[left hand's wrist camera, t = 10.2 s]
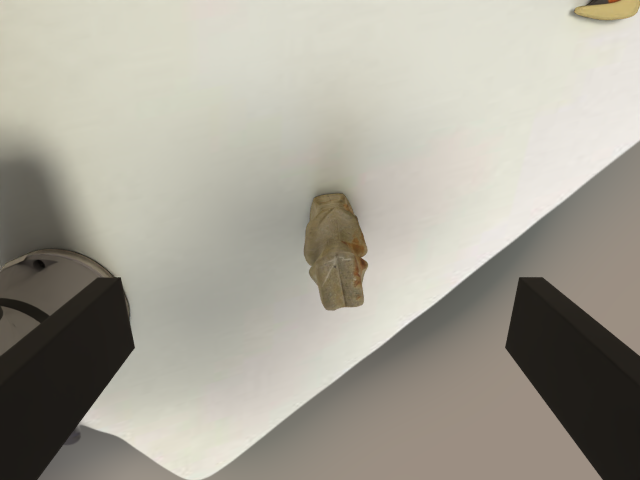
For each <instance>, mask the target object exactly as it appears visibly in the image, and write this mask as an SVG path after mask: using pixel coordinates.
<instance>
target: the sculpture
mask: <svg viewBox="0 0 640 480" xmlns="http://www.w3.org/2000/svg"><path fill="white" fill-rule="evenodd" d="M367 251H368V250H367V246H366V243H365V240H364V236H363V233H362V231H361V228H360V226H359V223H358V219H357V217H356V216H355V215H354V213H353V210H352V208H351V206H350V203H349V201H348V200H347V198H346V196H345V195H344V194H341V193H337V194H327V195H321V196H317V197H315V198H314V199H313V202H312V206H311V211H310V222H309V223H308V225H307V227H306V235H305V245H304V256H305V259H306V261H307V262H308V264H309V265H311V266H312V267H311V268H310V270H309V274H310V276H311V278H312V279H313V280H314V281H315V283H316V284H317V285H318V288H319V293H320V297H321V301H322V304H323V306H324V308H325V309H326V310H337V309H339V308H342V307H358V306H361V305H362V304H363V302H364V296H363V289H362V282H363V277H364V273H365V271H366V269H367V267H368V263H367V262H366V261H365V260H363V259H362V258H361V257H363V256H364V255H365V254H366V253H367Z"/></svg>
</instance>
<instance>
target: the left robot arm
mask: <svg viewBox="0 0 640 480" xmlns="http://www.w3.org/2000/svg"><path fill="white" fill-rule="evenodd" d="M2 269H3V270H2ZM2 269H1V270H2V271H1V272H0V480H37V479H38V478H39V477H40V475H41V474H42V473H43V471H44V470H45V468H46V467H47V466H48V464H49V463H50V462H51V460H52V459H53V458H54V456H55V455H56V454H57V452H58V451H59V449H60V448H61V447H62V445H63V444H64V443H65V441H66V440H67V439H68V437H69V436H70V435H71V433H72V432H73V431H74V429H75V428H76V427H77V425H78V424H79V422H80V421H81V420H82V418H83V417H84V416H85V414H86V413H87V412H88V410H89V409H90V408H91V406H92V405H93V404H94V402H95V401H96V399H97V398H98V397H99V395H100V394H101V393H102V391H103V390H104V389H105V387H106V386H107V385H108V383H109V382H110V381H111V379H112V378H113V376H114V375H115V374H116V372H117V371H118V370H119V368H120V367H121V366H122V364H123V363H124V362H125V360H126V359H127V358H128V356H129V355H130V353H131V352H132V351H133V349H134V348H135V346H134V341H133V336H132V331H131V326H130V321H129V308H128V303H127V299H126V297H125V294H124V291H123V286H122V281H121V277H113V276H112V275H111V274H110V273H109V272H108V271H107V270H106V269H104V268H103V267H102V266H101V265H99V264H98V263H96V262H95V261H93V260H91V259H89V258H87V257H85V256H83V255H81V254H78V253H75V252H72V251H67V250H61V249H43V250H37V251H33V252H31V253H28V254H26V255H24V256H22V257H19V258H17V259H15V260H12V261H10V262H8V263H6V264H5V265H4V266H3V268H2ZM505 348H506V349H507V351H508V352H509V353H510V355H511V356H512V357H513V359H514V360H515V362H516V363H517V364H518V366H519V367H520V368H521V370H522V371H523V372H524V374H525V375H526V376H527V378H528V379H529V381H530V382H531V383H532V385H533V386H534V387H535V389H536V390H537V391H538V393H539V394H540V395H541V397H542V398H543V399H544V401H545V402H546V404H547V405H548V406H549V408H550V409H551V410H552V412H553V413H554V414H555V416H556V417H557V418H558V420H559V421H560V422H561V424H562V425H563V427H564V428H565V429H566V431H567V432H568V433H569V435H570V436H571V437H572V439H573V440H574V441H575V443H576V444H577V445H578V447H579V448H580V449H581V451H582V452H583V454H584V455H585V456H586V458H587V459H588V460H589V462H590V463H591V464H592V466H593V467H594V468H595V470H596V471H597V473H598V474H599V475H600V476H601V478H602V479H603V480H640V356H639V355H638V354H636V353H635V352H634V351H633V350H631V349H630V348H629V347H628V346H627V345H625V344H624V343H623V342H622V341H620V340H619V339H618V338H617V337H615V336H614V335H613V334H612V333H611V332H609V331H608V330H607V329H606V328H604V327H603V326H602V325H601V324H599V323H598V322H597V321H596V320H594V319H593V318H592V317H591V316H590V315H588V314H587V313H586V312H585V311H583V310H582V309H581V308H580V307H578V306H577V305H576V304H575V303H573V302H572V301H571V300H570V299H569V298H567V297H566V296H565V295H563V294H562V293H561V292H560V291H559V290H557V289H556V288H555V287H554V286H552V285H551V284H550V283H549V282H548V281H546V280H545V279H544V278H542V277H520V278H519V281H518V286H517V291H516V296H515V302H514V306H513V311H512V316H511V322H510V326H509V331H508V337H507V341H506V346H505Z"/></svg>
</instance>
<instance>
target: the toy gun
mask: <svg viewBox="0 0 640 480" xmlns="http://www.w3.org/2000/svg"><path fill="white" fill-rule="evenodd" d="M639 6H640V0H592V2H591V3H589V4H588V5H586V6H580V7H577V8H575V12H574V13H576V14H578V15H581V16H584V17H589V18H594V19H599V20H616V19H624V18H629V17H632V16H634V15H635V14H636V13H637V11H638V9H639Z"/></svg>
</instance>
